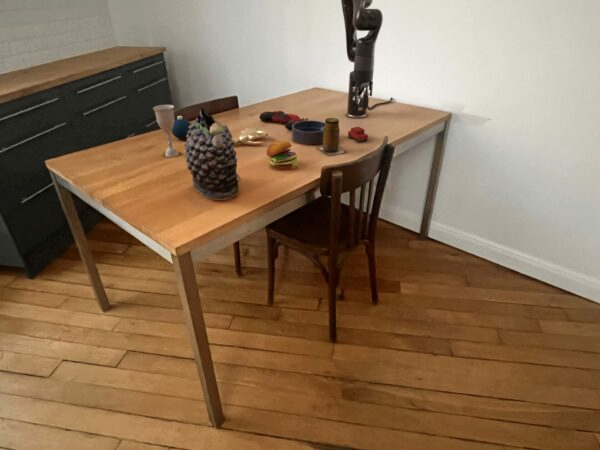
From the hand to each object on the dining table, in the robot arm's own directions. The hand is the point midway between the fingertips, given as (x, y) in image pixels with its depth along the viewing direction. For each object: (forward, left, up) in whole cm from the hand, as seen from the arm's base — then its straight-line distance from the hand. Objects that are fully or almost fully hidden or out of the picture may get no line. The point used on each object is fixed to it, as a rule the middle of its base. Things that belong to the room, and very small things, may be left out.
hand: (360, 110), depth 163 cm
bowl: (+10, -17, -12) cm, 23 cm away
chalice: (+52, -54, -12) cm, 76 cm away
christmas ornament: (+37, -63, -12) cm, 74 cm away
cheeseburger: (+39, -12, -12) cm, 43 cm away
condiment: (+17, -4, -12) cm, 21 cm away
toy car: (0, 0, -12) cm, 12 cm away
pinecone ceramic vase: (+66, -20, -12) cm, 70 cm away
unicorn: (+25, -38, -12) cm, 47 cm away
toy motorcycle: (-3, -37, -12) cm, 39 cm away
